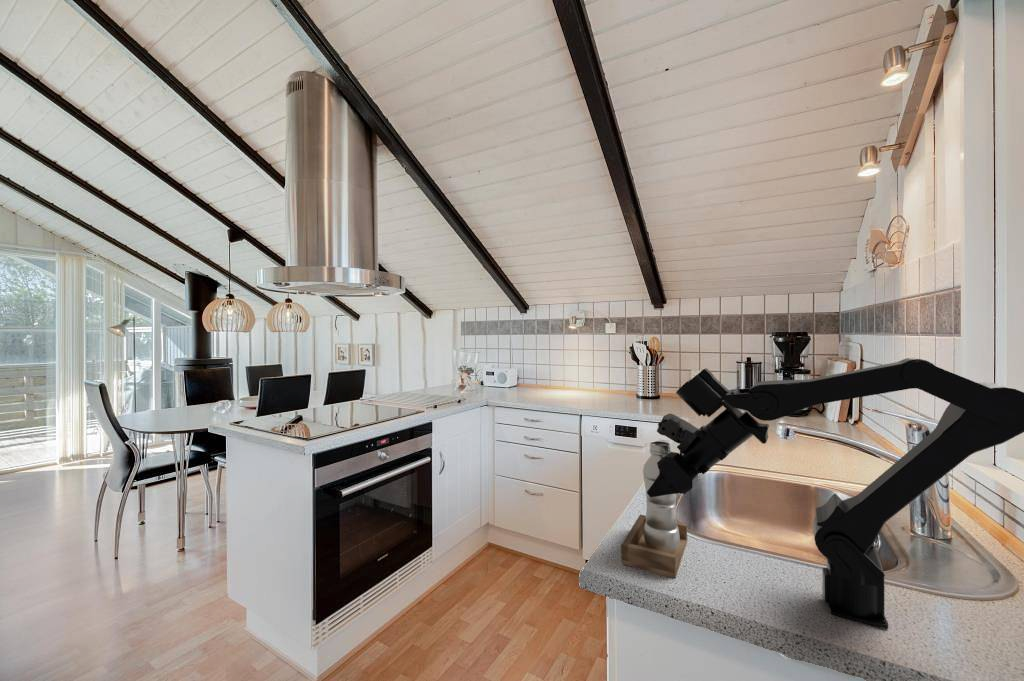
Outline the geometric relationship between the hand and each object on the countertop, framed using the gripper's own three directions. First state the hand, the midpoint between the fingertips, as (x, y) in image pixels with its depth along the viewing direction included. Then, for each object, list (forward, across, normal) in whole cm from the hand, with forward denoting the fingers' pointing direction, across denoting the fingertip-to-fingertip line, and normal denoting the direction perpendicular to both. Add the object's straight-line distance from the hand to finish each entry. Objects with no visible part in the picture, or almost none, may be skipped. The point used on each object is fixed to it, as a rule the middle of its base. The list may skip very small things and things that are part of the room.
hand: (657, 487), depth 79 cm
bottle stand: (+9, 0, +8) cm, 12 cm away
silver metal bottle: (+8, 0, +9) cm, 12 cm away
